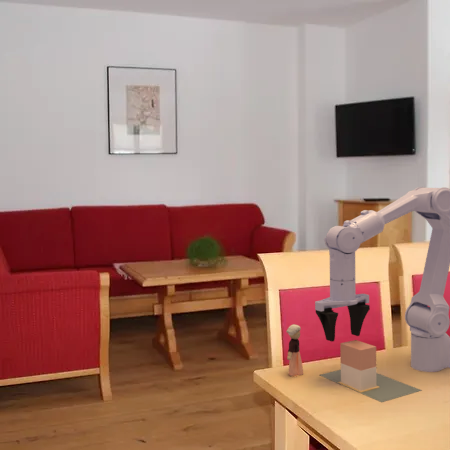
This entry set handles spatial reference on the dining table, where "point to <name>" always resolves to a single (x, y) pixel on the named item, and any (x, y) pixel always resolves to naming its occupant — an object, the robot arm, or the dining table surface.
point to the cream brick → (358, 377)
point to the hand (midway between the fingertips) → (343, 337)
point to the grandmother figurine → (294, 351)
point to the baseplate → (378, 387)
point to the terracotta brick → (358, 355)
